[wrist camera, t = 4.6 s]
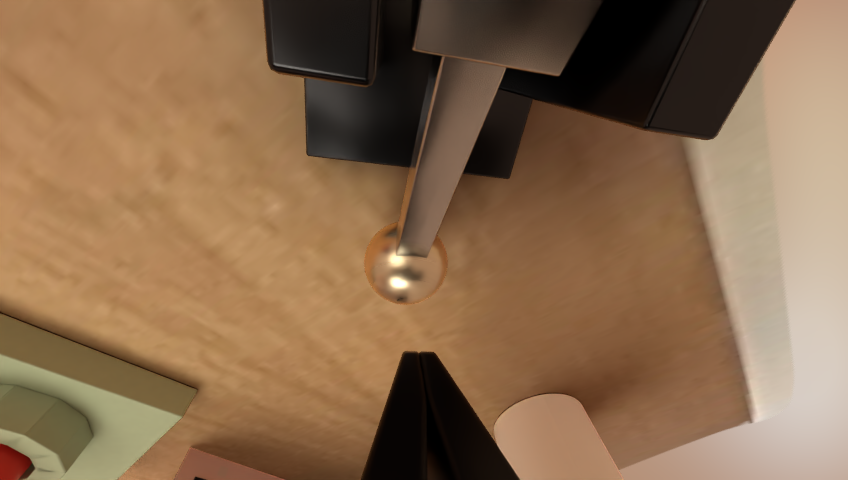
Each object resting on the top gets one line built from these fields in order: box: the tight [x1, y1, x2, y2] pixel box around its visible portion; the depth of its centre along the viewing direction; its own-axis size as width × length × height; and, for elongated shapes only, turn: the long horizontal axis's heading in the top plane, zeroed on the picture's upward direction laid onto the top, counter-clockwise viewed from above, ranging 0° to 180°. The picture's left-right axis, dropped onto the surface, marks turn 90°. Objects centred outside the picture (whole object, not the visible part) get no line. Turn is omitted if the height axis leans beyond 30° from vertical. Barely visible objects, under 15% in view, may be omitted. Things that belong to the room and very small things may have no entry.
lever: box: [364, 0, 605, 305], centre depth 8 cm, size 13×3×3 cm, turn 171°
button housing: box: [0, 313, 197, 480], centre depth 16 cm, size 10×12×4 cm
